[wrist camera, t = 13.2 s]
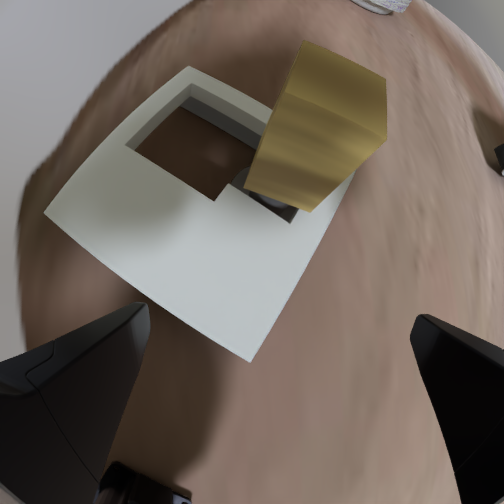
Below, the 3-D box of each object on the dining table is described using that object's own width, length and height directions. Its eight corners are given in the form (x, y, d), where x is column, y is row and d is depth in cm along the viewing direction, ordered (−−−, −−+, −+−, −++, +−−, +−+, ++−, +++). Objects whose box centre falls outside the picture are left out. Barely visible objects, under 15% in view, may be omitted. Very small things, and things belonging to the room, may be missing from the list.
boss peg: (289, 253, 21) (404, 165, 9) (215, 227, 21) (255, 98, 8) (305, 188, 23) (399, 78, 11) (238, 163, 22) (289, 26, 10)
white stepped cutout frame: (237, 355, 19) (250, 362, 15) (66, 232, 18) (43, 212, 14) (333, 190, 24) (357, 167, 20) (186, 99, 23) (188, 65, 19)
